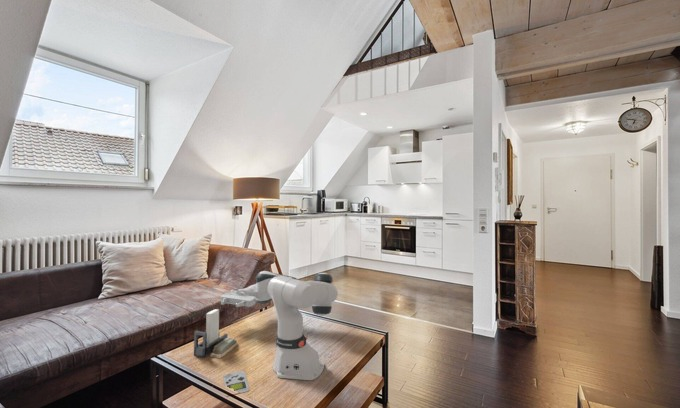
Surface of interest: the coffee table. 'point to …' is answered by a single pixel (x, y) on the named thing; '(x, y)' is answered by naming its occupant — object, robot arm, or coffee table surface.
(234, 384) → the handheld gaming device
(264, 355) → the coffee table surface
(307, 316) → the coffee table surface
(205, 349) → the slot rack
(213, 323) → the white rectangular slab
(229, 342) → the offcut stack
